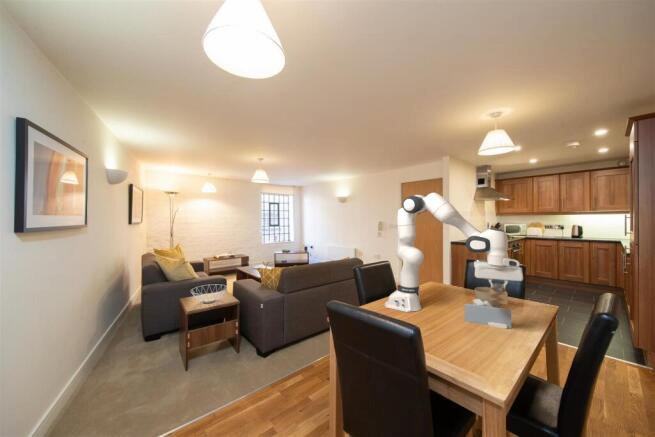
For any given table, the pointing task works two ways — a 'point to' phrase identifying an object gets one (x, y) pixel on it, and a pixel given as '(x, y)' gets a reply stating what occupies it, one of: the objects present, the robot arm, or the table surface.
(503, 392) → the table surface
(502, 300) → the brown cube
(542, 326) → the table surface
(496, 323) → the wall board
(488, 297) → the planter bowl
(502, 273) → the robot arm
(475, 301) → the wall hook
